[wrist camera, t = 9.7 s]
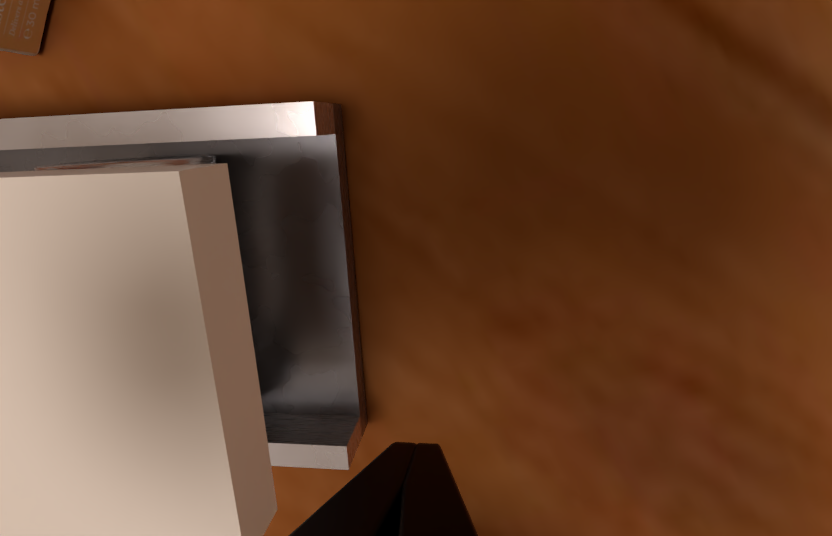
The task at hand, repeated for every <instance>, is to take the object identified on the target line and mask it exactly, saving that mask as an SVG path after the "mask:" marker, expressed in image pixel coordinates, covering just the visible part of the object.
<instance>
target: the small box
mask: <svg viewBox="0 0 832 536" xmlns="http://www.w3.org/2000/svg"><path fill="white" fill-rule="evenodd" d="M50 1H51V0H0V50H1V51H8V52H14V53H19V54H24V55H33V56H35V55H37V54H38V52H39V49H40V44H41V39H42V35H43V31H44V26H45V21H46V17H47V12H48V9H49V5H50Z"/></svg>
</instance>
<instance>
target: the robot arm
mask: <svg viewBox="0 0 832 536" xmlns="http://www.w3.org/2000/svg"><path fill="white" fill-rule="evenodd" d="M289 536H478V534H477V532H476V530H475V527H474V525H473V523H472V520H471V518H470V515H469V513H468V511H467V508H466V506H465V504H464V501H463V499H462V496H461V494H460V492H459V489H458V487H457V485H456V482H455V480H454V478H453V475H452V473H451V470H450V468H449V466H448V463H447V461H446V459H445V456H444V454H443V451H442V449H441V447H440V446H439V445H438V444H429V443H418V444H417V445H416V444H415V443H407V442H394V443H393V444H391V445H390V446H389V447H388V448H387V449H386V450H385V451H383V452H382V453H381V454H380V455H379V456H378V457H377V458H376V459H374V460H373V461H372V462H371V463H370V464H369V465H368V466H367V467H365V468H364V469H363V470H362V471H361V472H360V473H359V474H358V475H356V476H355V477H354V478H353V479H352V480H351V481H350V482H349V483H347V484H346V485H345V486H344V487H343V488H342V489H341V490H340V491H338V492H337V493H336V494H335V495H334V496H333V497H332V498H331V499H329V500H328V501H327V502H326V503H325V504H324V505H323V506H322V507H320V508H319V509H318V510H317V511H316V512H315V513H314V514H313V515H311V516H310V517H309V518H308V519H307V520H306V521H305V522H304V523H302V524H301V525H300V526H299V527H298V528H297V529H296V530H295V531H293V532H292V533H291V534H290V535H289Z"/></svg>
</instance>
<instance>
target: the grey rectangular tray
mask: <svg viewBox="0 0 832 536" xmlns="http://www.w3.org/2000/svg"><path fill="white" fill-rule="evenodd" d="M222 163H227V165H228V172H229V179H230V186H231V193H232V200H233V207H234V214H235V220H236V227H237V234H238V241H239V248H240V255H241V262H242V269H243V275H244V282H245V289H246V296H247V303H248V310H249V317H250V324H251V331H252V337H253V344H254V351H255V358H256V365H257V372H258V379H259V386H260V393H261V399H262V406H263V413H264V420H265V427H266V434H267V441H268V448H269V455H270V461H271V466H286V467H305V468H323V469H342V470H349V468H350V466H351V463H352V461H353V458H354V456H355V453H356V451H357V448H358V446H359V443H360V441H361V439H362V436H363V434H364V431H365V429H366V426H367V412H366V400H365V388H364V376H363V364H362V352H361V340H360V328H359V315H358V303H357V291H356V279H355V267H354V255H353V243H352V231H351V218H350V206H349V194H348V182H347V170H346V158H345V146H344V134H343V121H342V109H341V104H334V103H325V102H316V101H308V102H291V103H273V104H255V105H238V106H220V107H202V108H185V109H167V110H149V111H132V112H114V113H96V114H79V115H61V116H43V117H26V118H8V119H0V172H16V171H42V170H68V169H93V168H119V167H145V166H170V165H196V164H222Z"/></svg>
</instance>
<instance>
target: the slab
mask: <svg viewBox="0 0 832 536" xmlns="http://www.w3.org/2000/svg"><path fill="white" fill-rule="evenodd" d="M276 511H277V503H276V496H275V489H274V482H273V475H272V468H271V461H270V455H269V448H268V441H267V434H266V427H265V420H264V413H263V406H262V399H261V393H260V386H259V379H258V372H257V365H256V358H255V351H254V344H253V337H252V331H251V324H250V317H249V310H248V303H247V296H246V289H245V282H244V275H243V269H242V262H241V255H240V248H239V241H238V234H237V227H236V220H235V214H234V207H233V200H232V193H231V186H230V179H229V172H228V165H227V163H222V164H196V165H170V166H145V167H119V168H93V169H68V170H42V171H16V172H0V536H263V535H264V533H265V531H266V529H267V527H268V526H269V524H270V522H271V520H272V518H273V516H274V515H275V513H276Z"/></svg>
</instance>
